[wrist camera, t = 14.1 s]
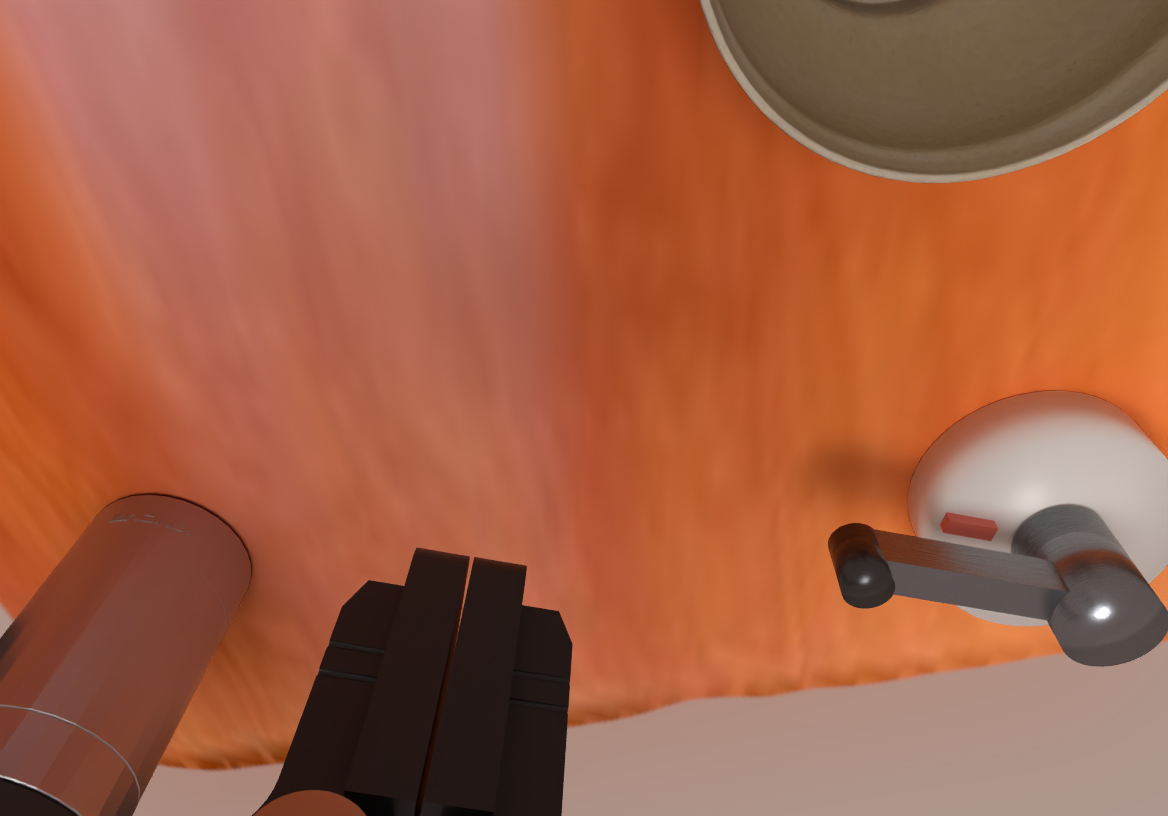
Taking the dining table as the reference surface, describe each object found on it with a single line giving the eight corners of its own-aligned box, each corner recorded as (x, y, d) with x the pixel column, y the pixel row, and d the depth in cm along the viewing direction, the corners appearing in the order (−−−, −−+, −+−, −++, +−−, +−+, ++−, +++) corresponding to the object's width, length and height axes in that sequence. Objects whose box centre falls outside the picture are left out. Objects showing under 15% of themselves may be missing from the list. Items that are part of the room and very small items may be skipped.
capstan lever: (1124, 514, 42) (1190, 603, 37) (1079, 581, 44) (1135, 673, 39) (833, 462, 41) (861, 546, 36) (802, 533, 43) (825, 621, 38)
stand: (1077, 588, 50) (1115, 651, 46) (873, 553, 49) (895, 614, 45) (1196, 414, 44) (1251, 470, 40) (964, 370, 43) (998, 423, 39)
